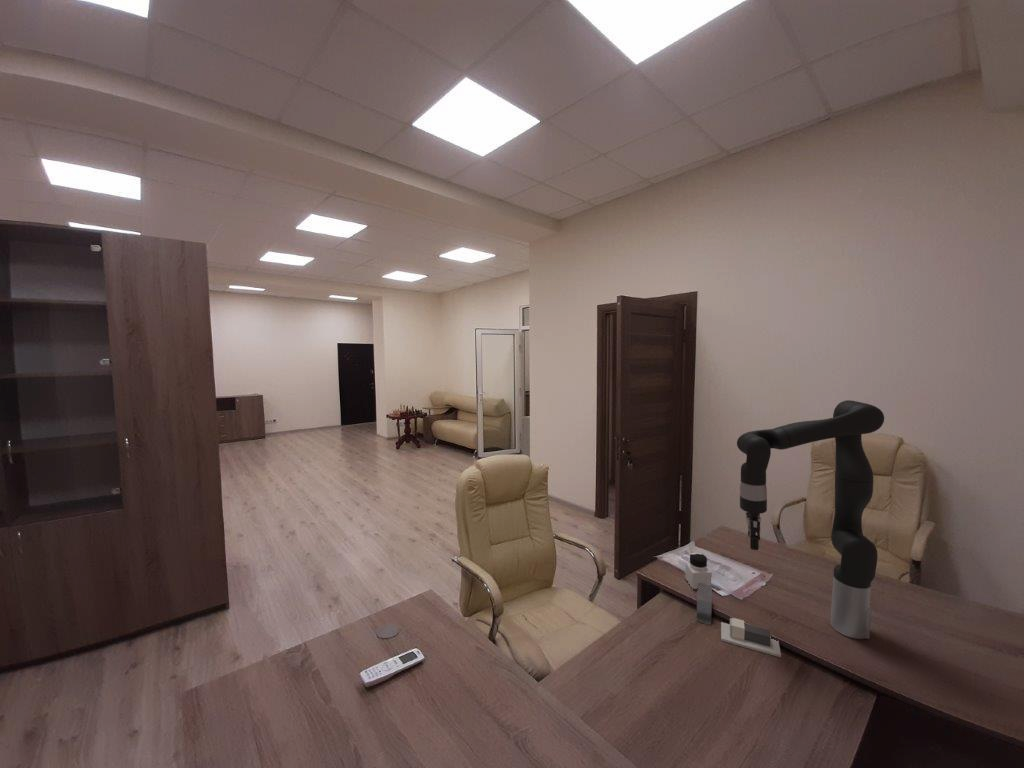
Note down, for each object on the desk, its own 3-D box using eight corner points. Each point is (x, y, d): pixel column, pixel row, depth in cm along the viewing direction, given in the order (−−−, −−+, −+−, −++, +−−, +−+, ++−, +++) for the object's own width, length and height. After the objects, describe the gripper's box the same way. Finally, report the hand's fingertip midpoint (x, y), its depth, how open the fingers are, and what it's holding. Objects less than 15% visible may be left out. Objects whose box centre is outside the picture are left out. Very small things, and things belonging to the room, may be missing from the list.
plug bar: (768, 638, 127) (769, 627, 126) (770, 647, 123) (770, 635, 123) (729, 628, 132) (729, 617, 131) (729, 636, 128) (730, 625, 128)
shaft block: (711, 598, 147) (712, 582, 147) (711, 625, 134) (711, 607, 133) (698, 595, 149) (698, 579, 149) (696, 621, 136) (696, 603, 136)
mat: (777, 639, 127) (777, 636, 127) (780, 657, 120) (781, 655, 120) (721, 624, 135) (721, 622, 134) (721, 640, 128) (721, 638, 127)
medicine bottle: (711, 589, 153) (712, 560, 151) (692, 590, 153) (693, 560, 151) (702, 578, 160) (703, 550, 158) (684, 578, 160) (685, 550, 158)
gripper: (769, 505, 120) (769, 556, 122) (764, 488, 133) (763, 534, 135) (741, 502, 124) (741, 551, 125) (738, 486, 136) (738, 531, 138)
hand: (753, 542), depth 130 cm, fingers open, 8 cm apart
